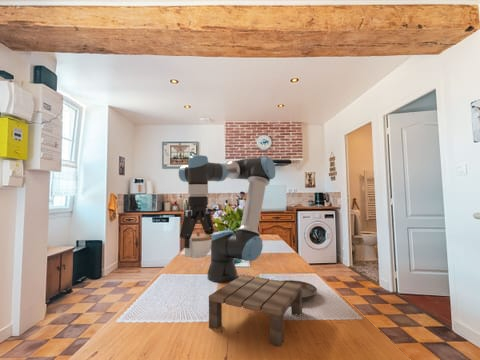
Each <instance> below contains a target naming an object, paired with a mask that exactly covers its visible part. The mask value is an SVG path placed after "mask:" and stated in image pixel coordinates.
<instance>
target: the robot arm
mask: <svg viewBox="0 0 480 360" xmlns="http://www.w3.org/2000/svg"><path fill="white" fill-rule="evenodd" d="M208 158H209V157H208V156H207V155H202V154H201V155H199V154H198V155H197V154H196V155H190V156H189V157H188V160H187V161H188V162H187V164H185V165H182V166H180V168H179V170H178V178H179V180H180V181H182V182H183V183H187V184H188V188H187V189H188V191H187V193H188V197H187V205H188V207H189V210H184V211H183V221H182V224H181V229H180V234H179V237H180V238H181V239H183V244H184V246H183V247H184V257H185V258H191V257H192V239H190V238H191V235H192V234H193V232H194V229H195V226H196V224H197V223H198V221H199V222H200V224H201V227H202V229H203V232H204V234H210V235H212V245H211V249H210V264H209V267H208V271H207V279H208V280H209V281H212V282H217V283H218V282H220V283H224V282H232V281H233V280H235V279H237V278H238V270H237V268H236V264H235V260H239V261H241V260H242V261H244V262H245V261H246V262H247V261H249V262H255V261H256V260H258V258H259V257H260V256H261V254H262V250H263V246H264V245H263V239H262V238H261V236H260V235H261V234H260V232H259V230H258V229H259V224H260V218H261V213H262V208H263V202H264V197H265V192H266V187H267V186H268V185H270V181H271V180H273V179H274V178H275V177H276V166H275V162H274V161H273V160H272V158H270V157H267V156H266V157H265V156H261V157H252V158H243V159H238V160H234V161H233V160H231V161H229V162H227V163H226V162H225V163H220V162H217V163H216V162H210V161H209V159H208ZM228 178H229V179H230V180H231V179H232V180H235V179H236V180H247V182H249V185H248V190H247V194H246V199H245V203H244V208H243V213H242V217H241V223H240V227H238V228H237V229H236V231H235V232H234V230H221V231H216V232H214V231H215V229H214V224H213V220H212V219H213V218H212V212H211V211H212V209H211V208H206V207H207V206H208V205H209V197H208V196H207V195H209V182H223V181H225V180H226V179H228Z"/></svg>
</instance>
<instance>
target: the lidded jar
mask: <svg viewBox="0 0 480 360" xmlns="http://www.w3.org/2000/svg"><path fill="white" fill-rule="evenodd" d="M190 239H192V257H191V258H192V259H202V258H206V257H207V255H208V254H209V253H210V252H211V245H212V234H205V233H200V231H199V230H198V231H196V233H192V235H191V238H190Z"/></svg>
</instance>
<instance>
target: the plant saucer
mask: <svg viewBox="0 0 480 360" xmlns="http://www.w3.org/2000/svg"><path fill="white" fill-rule="evenodd" d="M283 281H285V283H286V282H292V283H298V284H302V303H305V302H308V301H310V300H311V299H312V298H314V296H315V295H316V294H317V291H318V288H317V287H316V286H315V285H313V284H311V283H309V282H307V281H306V282H305V281H300V280H291V279H289V280H283Z"/></svg>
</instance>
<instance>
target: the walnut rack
mask: <svg viewBox="0 0 480 360" xmlns="http://www.w3.org/2000/svg"><path fill="white" fill-rule="evenodd" d="M224 304H225V305H228V306H232V307H237V308H243V309H244V310H245V309H246V310H250V311H255V312H259V313H260V312H261V313H265V314H269V330H270V331H269V339H270V340H269V342H270V343H269V344H270V345H272V346H275V347H281V346H282V345H283V343H284V342H285V339H284V338H285V337H284V334H285V333H284V314H285V313H286V312H287V311H288V309H289V308H290V306H291V309H290V311H291V315H294V314H297V315H296V316H299V315H300V314H302V313H303V302H302V284H298V283H292V282H286V283H285V281H284V280H279V279H272V278H271V279H270V278H264V277H258V276H256V277H255V276H251V275H247V274H246V275H245V274H241V275H240V276H237V278H236V279H235V280H232V281H229V282H228V283H226V284H225V285H224V286H222V287H221V288H219V289H218V290H216V291H214V292H213V293H211V294H209V295H208V328H210V329H214V330H218V329H219V328H220V327H222V325H223V318H222V317H223V313H222V309H223V308H222V307H223V306H222V305H224ZM300 316H301V315H300Z"/></svg>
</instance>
